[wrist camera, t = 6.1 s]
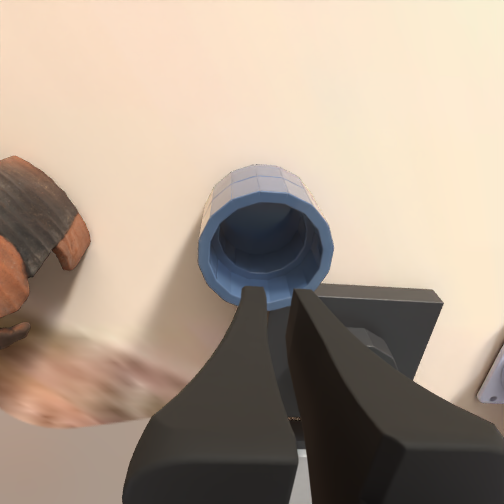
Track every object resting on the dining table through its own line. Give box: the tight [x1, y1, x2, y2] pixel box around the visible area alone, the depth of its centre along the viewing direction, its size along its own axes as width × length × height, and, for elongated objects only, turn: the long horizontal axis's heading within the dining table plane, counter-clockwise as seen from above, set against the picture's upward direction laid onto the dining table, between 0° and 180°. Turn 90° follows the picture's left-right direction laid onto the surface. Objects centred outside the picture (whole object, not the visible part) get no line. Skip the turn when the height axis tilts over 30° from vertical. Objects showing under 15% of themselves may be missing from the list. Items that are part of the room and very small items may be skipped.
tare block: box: [267, 283, 444, 417], centre depth 24 cm, size 10×10×3 cm
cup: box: [198, 164, 334, 311], centre depth 18 cm, size 6×6×4 cm
